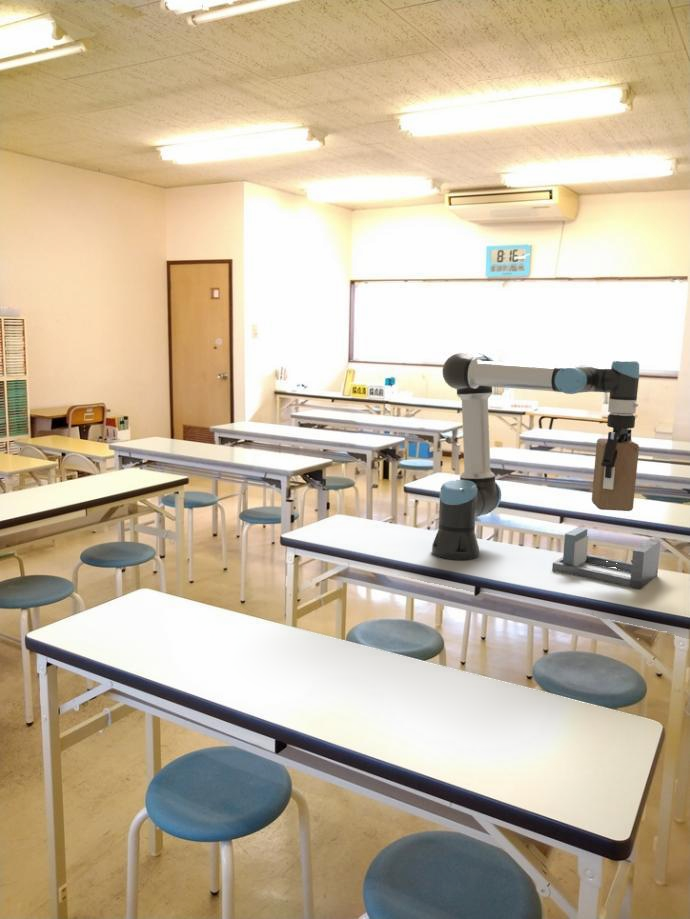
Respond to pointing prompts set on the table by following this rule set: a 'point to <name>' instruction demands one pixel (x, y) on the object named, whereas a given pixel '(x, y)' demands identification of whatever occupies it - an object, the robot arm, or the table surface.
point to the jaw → (575, 547)
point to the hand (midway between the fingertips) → (615, 485)
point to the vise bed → (620, 567)
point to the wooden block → (616, 477)
